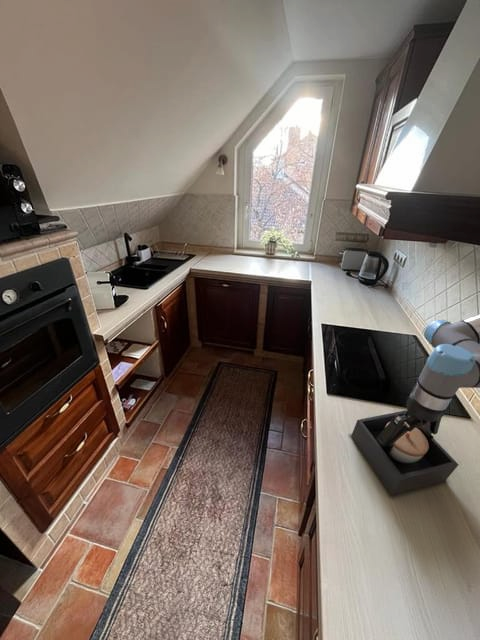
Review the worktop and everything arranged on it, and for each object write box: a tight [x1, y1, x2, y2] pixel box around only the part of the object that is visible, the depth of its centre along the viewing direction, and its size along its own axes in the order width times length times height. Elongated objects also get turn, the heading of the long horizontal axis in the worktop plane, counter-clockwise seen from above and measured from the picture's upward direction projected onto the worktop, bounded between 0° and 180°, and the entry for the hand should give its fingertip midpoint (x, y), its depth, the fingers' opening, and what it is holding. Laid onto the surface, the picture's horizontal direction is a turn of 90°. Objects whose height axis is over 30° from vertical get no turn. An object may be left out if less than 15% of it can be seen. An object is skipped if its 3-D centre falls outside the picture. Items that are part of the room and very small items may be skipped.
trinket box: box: [385, 422, 429, 463], centre depth 73 cm, size 11×11×9 cm
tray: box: [350, 409, 459, 496], centre depth 75 cm, size 18×18×8 cm
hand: (398, 451), depth 75 cm, fingers closed on trinket box, 11 cm apart
